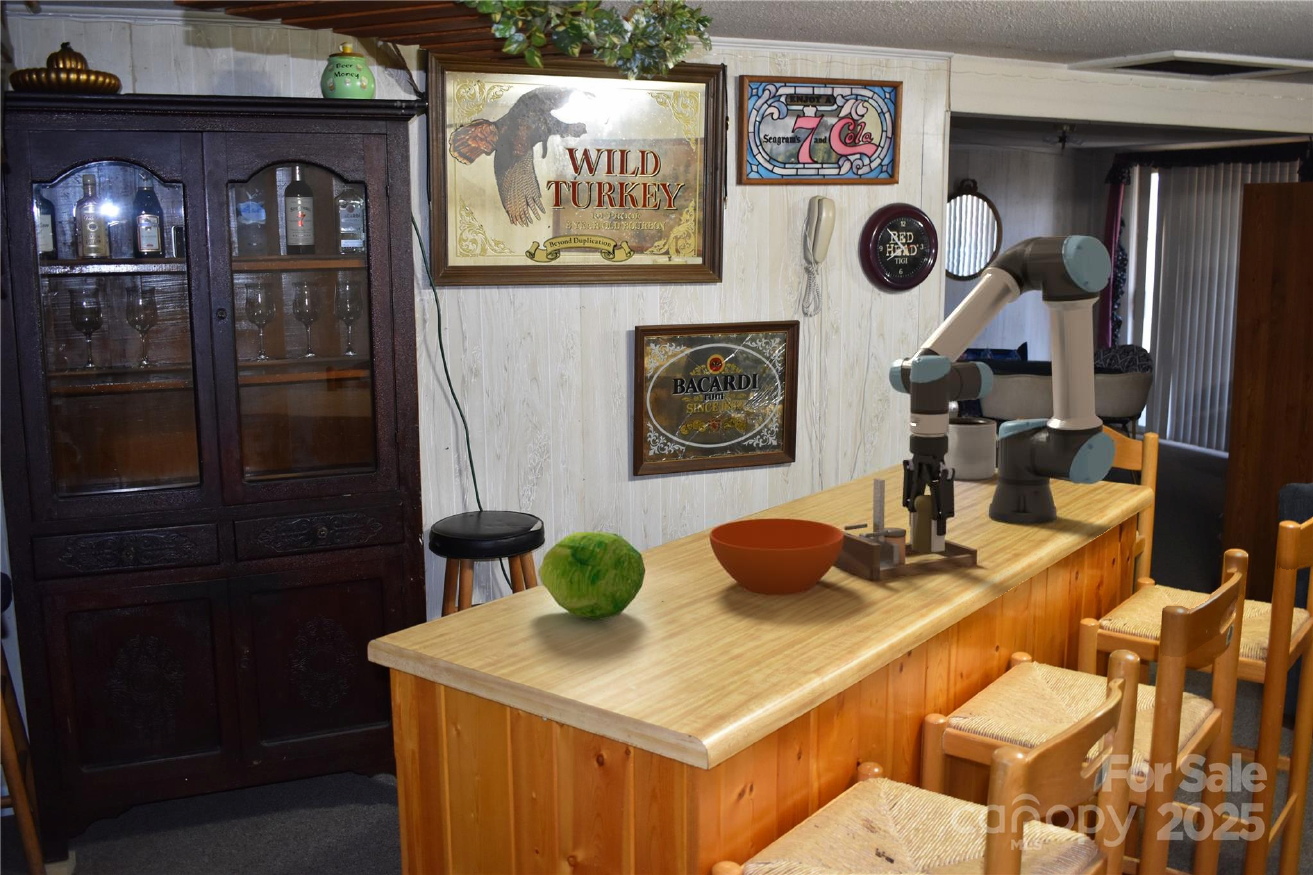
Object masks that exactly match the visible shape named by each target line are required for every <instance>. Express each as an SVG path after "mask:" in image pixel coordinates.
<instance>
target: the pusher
mask: <svg viewBox="0 0 1313 875" xmlns="http://www.w3.org/2000/svg"><path fill="white" fill-rule="evenodd" d="M885 492H886V480H885V479H884V478H879V477H878V478H873V495H872V496H873V504H872V505H873V508H872V510H873V511H872V516H873V517H872V533H874V532H881V531H884V528H885V506H886V504H885V501H886V500H885V499H886V497H885V494H886V493H885ZM865 534H867V533H865V532H862V533H858V537H860V538H863V539H866V540H869V541H872V542H874V543H877V544H880V568H884V567H890V566H897V565H899V545H897V544H895V543H892V542H889V541H886V540H884V535H883V536H876V537H869V538H866V536H865Z"/></svg>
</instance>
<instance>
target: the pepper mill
mask: <svg viewBox="0 0 1313 875" xmlns="http://www.w3.org/2000/svg"><path fill="white" fill-rule="evenodd" d="M914 506H915V509H916V511H917V516H916V522H915V529H914V535H913V542H912V550H914V551H917V552H919V553H927V554H930V553H931V554H933V553H934V552H932V551H931V537H932V518H934V517H935V516H934V510H933V505H932V499H931V494H924V495H920V496H918V497H917V498H916V499H915V502H914ZM938 552H940V551H938ZM934 554H935V553H934Z"/></svg>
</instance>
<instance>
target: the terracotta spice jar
mask: <svg viewBox="0 0 1313 875" xmlns="http://www.w3.org/2000/svg"><path fill="white" fill-rule="evenodd" d="M884 531H889V535H884V540H886V541H889V542H892V543H895V544H897V545H899V565H903V564H906V555H905V543H907V542H906V540H907V538H906V536H907V530H906V529H905V528H903V527H893V526H892V527H884Z"/></svg>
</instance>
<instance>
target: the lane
mask: <svg viewBox="0 0 1313 875" xmlns="http://www.w3.org/2000/svg"><path fill="white" fill-rule="evenodd" d="M843 528H844V530H841V531H842V532H843V534H844V542H843V546H842V549H841V552H840V554H839V556H838V558H837V560H836V561H835V563H834V564H833V566H834V567H837V568H839V569H841V570H844V571H847V572H849V573H852V574H854V575H857V576H859V577H862V578H864V579H867V580H869V581H871V582H878V581H885V580H891V579H896V578H903V577H908V576H915V575H921V574H927V573H935V572H938V571H945V570H950V569H951V570H952V569H958V568H964V567H969V566H976V565H978V549H976V548H972V547H970V546H966V545H963V544H961V543H957V542H953V541H950V540H947V539H945V550H944V551H940V552H934V554H937V555H939V556H940V555H941V556H944V557H941V558H936V559H929V560H922V561H918V562H911V563H905V564H903V565H897V566H890V567H884V568H880V544H877V543H874V542H872V541H869V540H866V539H863V538H860V537H859V536H857V535H855V534H851V533H848V532H846V531H852V530H859V529H865V528H868V523H861V524H851V525H846V526H844V527H843ZM883 535H889V531H881V532H874V533H873V532H869V533H868V532H867V533H866V534H865V536H866V538H869V537H876V536H883ZM919 553H920V552H917V551H914V550H912V545H911V544H910V542H905V556H906V555H912V554H919Z"/></svg>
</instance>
